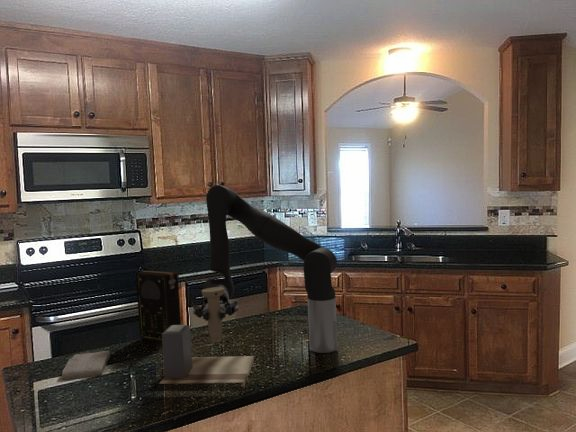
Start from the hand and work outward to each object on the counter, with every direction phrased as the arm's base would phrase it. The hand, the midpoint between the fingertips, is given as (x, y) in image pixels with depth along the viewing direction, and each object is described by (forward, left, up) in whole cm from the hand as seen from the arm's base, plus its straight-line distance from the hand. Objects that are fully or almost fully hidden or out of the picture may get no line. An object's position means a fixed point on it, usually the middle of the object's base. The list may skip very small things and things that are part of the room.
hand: (214, 316), depth 136 cm
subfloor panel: (+4, -9, -20) cm, 22 cm away
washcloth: (+45, -15, -20) cm, 52 cm away
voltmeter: (+30, -42, -20) cm, 55 cm away
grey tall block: (+13, -6, -18) cm, 23 cm away
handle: (0, -3, -8) cm, 9 cm away
